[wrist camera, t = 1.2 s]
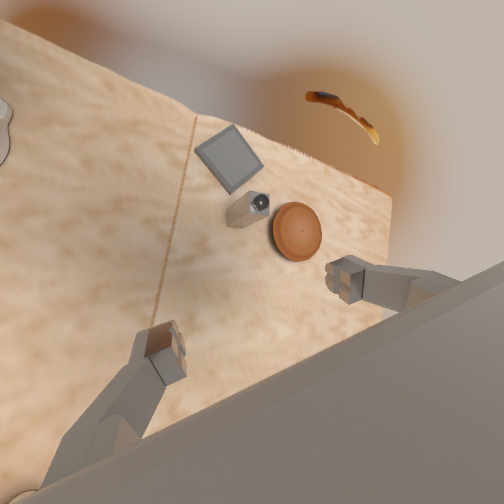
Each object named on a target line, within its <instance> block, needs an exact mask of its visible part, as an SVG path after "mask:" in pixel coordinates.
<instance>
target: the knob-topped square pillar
mask: <svg viewBox="0 0 504 504" xmlns="http://www.w3.org/2000/svg"><path fill="white" fill-rule="evenodd" d="M268 216H269V194H265V193H259V192H254V191H248V192H247V193H246V194H245V195H244V196H242V197H241V198H240V199H239V200H238V201H237V202H235V203H234V204H233V205H232V206H231V207H230V208H228V209H227V226H228V227H238V228H244V227H246V226H248V225H250V224H252V223H255V222H257V221H259V220H261V219H263V218H266V217H268Z"/></svg>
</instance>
